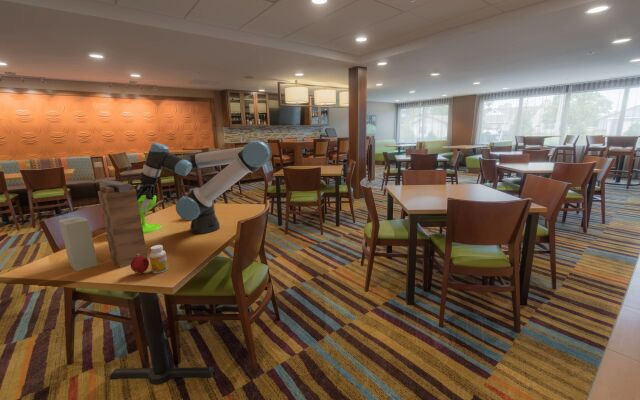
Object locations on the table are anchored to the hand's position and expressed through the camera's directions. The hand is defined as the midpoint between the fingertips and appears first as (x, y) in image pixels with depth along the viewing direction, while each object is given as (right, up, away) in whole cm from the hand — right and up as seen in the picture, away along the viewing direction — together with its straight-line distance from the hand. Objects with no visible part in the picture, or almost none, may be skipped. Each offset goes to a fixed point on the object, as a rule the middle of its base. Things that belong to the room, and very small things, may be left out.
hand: (135, 213), depth 144 cm
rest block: (-6, -20, -24) cm, 32 cm away
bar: (+8, +11, -26) cm, 29 cm away
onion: (+23, -21, -33) cm, 46 cm away
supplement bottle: (+29, -21, -31) cm, 47 cm away
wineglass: (-8, -10, +21) cm, 24 cm away
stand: (+11, -19, -21) cm, 30 cm away
